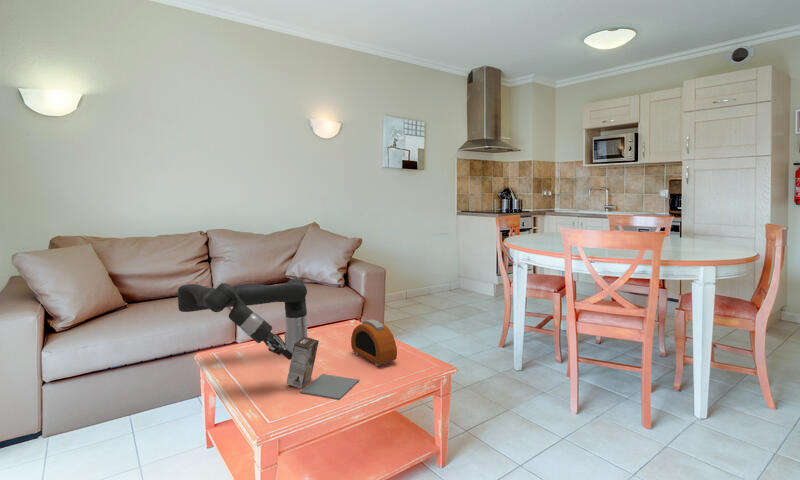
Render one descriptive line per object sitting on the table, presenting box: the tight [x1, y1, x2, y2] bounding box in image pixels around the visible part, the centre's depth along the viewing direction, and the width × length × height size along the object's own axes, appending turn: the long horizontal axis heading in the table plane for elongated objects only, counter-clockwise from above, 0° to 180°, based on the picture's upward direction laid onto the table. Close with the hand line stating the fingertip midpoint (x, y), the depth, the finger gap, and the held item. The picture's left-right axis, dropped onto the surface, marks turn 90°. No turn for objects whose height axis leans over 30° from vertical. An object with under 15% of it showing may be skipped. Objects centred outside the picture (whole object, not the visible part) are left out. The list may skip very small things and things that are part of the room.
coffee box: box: [286, 336, 320, 389], centre depth 163 cm, size 9×6×16 cm
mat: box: [299, 373, 360, 401], centre depth 161 cm, size 16×16×1 cm
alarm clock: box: [350, 319, 398, 367], centre depth 188 cm, size 23×9×17 cm, turn 37°
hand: (291, 357), depth 161 cm, fingers closed
